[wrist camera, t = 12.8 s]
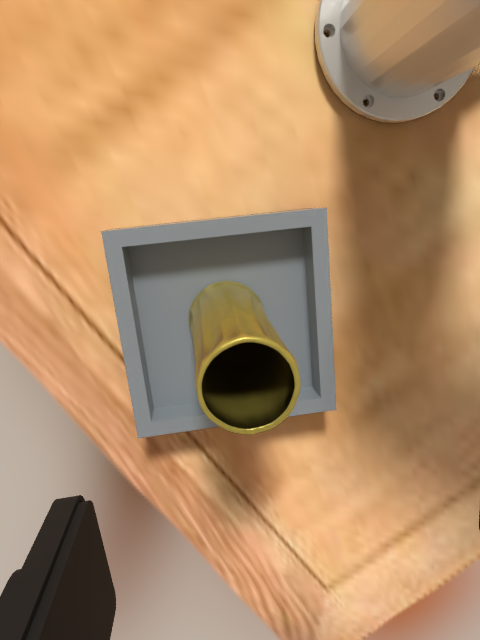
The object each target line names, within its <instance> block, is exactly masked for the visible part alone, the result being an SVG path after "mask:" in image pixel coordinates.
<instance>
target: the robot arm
mask: <svg viewBox="0 0 480 640" xmlns="http://www.w3.org/2000/svg"><path fill="white" fill-rule="evenodd" d="M323 32H327V33H328V35H329V37H326V36H325V35H324V33H323ZM315 44H316V50H317V55H318V60H319V63H320V66H321V68H322V71H323V74H324V76H325V78H326V80H327V82H328V83H329V85H330V87H331V88H332V90H333V91H334V93H335V94H336V95H337V96H338V97H339V98H340V100H341V101H342V102H343V103H344V104H346V105H347V106H348V107H349V108H351V109H352V110H353V111H355V112H356V113H358V114H360V115H362V116H364V117H366V118H369V119H372V120H376V121H380V122H390V123H400V122H405V121H410V120H414V119H417V118H419V117H422V116H425V115H427V114H429V113H431V112H433V111H434V110H436V109H438V108H440V107H441V106H443V105H444V104H445V103H446V102H448V101H449V100H450V99H451V98H452V97H454V95H455V94H456V93H457V92H458V91H459V90H460V89H461V87H462V86H463V85H464V84H465V82H466V81H467V79H468V77H469V76H470V74H471V73H472V71H473V69H474V67H475V66H477V65H479V64H480V0H319V1H318V5H317V11H316V18H315ZM434 95H435V96H436V100H435V98H434ZM363 100H364V101H366V102H367V106H366V107H365V106H364V105H363ZM479 530H480V513H479ZM115 610H116V595H115V590H114V586H113V582H112V578H111V574H110V570H109V566H108V562H107V558H106V554H105V550H104V546H103V542H102V538H101V534H100V530H99V526H98V522H97V518H96V513H95V510H94V506H93V503H92V501H85V500H84V498H83V496H81V495H79V496H74V497H67V498H61V499H56V500H55V501H54V502H53V504H52V506H51V508H50V510H49V512H48V514H47V516H46V518H45V520H44V523H43V525H42V527H41V529H40V531H39V533H38V535H37V537H36V540H35V541H34V544H33V546H32V548H31V550H30V552H29V554H28V556H27V558H26V560H25V563H24V565H23V567H22V569H19V570H16V571H15V572H14V573H13V574H12V576H11V577H10V578H9V580H8V582H7V584H6V586H5V588H4V590H3V592H2V594H1V596H0V640H110V636H111V631H112V626H113V621H114V616H115Z"/></svg>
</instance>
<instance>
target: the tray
mask: <svg viewBox="0 0 480 640" xmlns="http://www.w3.org/2000/svg"><path fill="white" fill-rule="evenodd" d="M102 238H103V244H104V249H105V255H106V260H107V266H108V272H109V277H110V283H111V288H112V294H113V300H114V305H115V311H116V317H117V322H118V328H119V333H120V339H121V345H122V350H123V356H124V362H125V367H126V373H127V378H128V384H129V390H130V395H131V401H132V407H133V412H134V418H135V423H136V429H137V435H138V438H144V437H150V436H157V435H164V434H171V433H178V432H185V431H192V430H199V429H206V428H213V427H220V426H218V425H217V424H215V423H214V422H212V421H211V420H210V419H209V418H208V417H207V416H206V414H205V413H204V412H203V410H202V408H201V406H200V404H199V400H198V396H197V389H196V377H195V352H194V344H193V338H192V334H191V331H190V327H189V311H190V307H191V304H192V302H193V300H194V299H195V297H196V296H197V295H198V294H199V293H200V292H201V291H202V290H203V289H204V288H206V287H207V286H209V285H211V284H214V283H217V282H221V281H232V282H237V283H240V284H243V285H245V286H247V287H248V288H250V289H251V290H252V291H253V292H254V293H255V294H256V295H257V296H258V297H259V299H260V300H261V302H262V305H263V308H264V312H265V314H266V317H267V319H268V320H269V322H270V323H271V324H272V326H273V327H274V329H275V330H276V332H277V334H278V335H279V337H280V339H281V340H282V342H283V343H284V344H285V346H286V347H287V349H288V350H289V352H290V353H291V354H292V355H293V356H294V358H295V360H296V362H297V366H298V371H299V376H300V382H301V385H300V392H299V396H298V399H297V402H296V404H295V407H294V408H293V410H292V412H291V413H290V414H289V416H296V415H303V414H310V413H317V412H324V411H331V410H336V393H335V372H334V351H333V331H332V310H331V289H330V268H329V247H328V226H327V208H308V209H299V210H289V211H280V212H270V213H261V214H251V215H242V216H232V217H223V218H214V219H204V220H195V221H185V222H176V223H166V224H157V225H147V226H138V227H128V228H119V229H110V230H106V231H102ZM289 416H288V417H289Z"/></svg>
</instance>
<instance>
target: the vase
mask: <svg viewBox="0 0 480 640" xmlns="http://www.w3.org/2000/svg"><path fill="white" fill-rule="evenodd" d="M189 327H190V331H191V334H192V338H193V344H194V352H195V377H196V389H197V396H198V400H199V404H200V406H201V408H202V410H203V412H204V413H205V414H206V416H207V417H208V418H209V419H210V420H211V421H212V422H214V423H215V424H217V425H218V426H220V427H221V428H223V429H225V430H227V431H230V432H233V433H238V434H244V435H252V434H257V433H260V432H264V431H267V430H270V429H272V428H274V427H276V426H278V425H279V424H280V423H281V422H283V421H284V420H285V419H286V418H287V417H288V416H289V414H290V413H291V412H292V410H293V408H294V407H295V404H296V402H297V399H298V396H299V392H300V385H301V382H300V376H299V371H298V366H297V362H296V360H295V358H294V356H293V355H292V354H291V353H290V352H289V350H288V349H287V347H286V346H285V344H284V343H283V342H282V340H281V339H280V337H279V335H278V334H277V332H276V330H275V329H274V327H273V326H272V324H271V323H270V322H269V320H268V319H267V317H266V314H265V312H264V308H263V305H262V302H261V300H260V299H259V297H258V296H257V295H256V294H255V293H254V292H253V291H252V290H251V289H250V288H248V287H247V286H245V285H243V284H240V283H237V282H232V281H221V282H217V283H214V284H211V285H209V286H207V287H206V288H204V289H203V290H202V291H201V292H200V293H199V294H198V295H197V296H196V297H195V299H194V300H193V302H192V304H191V307H190V311H189Z"/></svg>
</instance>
